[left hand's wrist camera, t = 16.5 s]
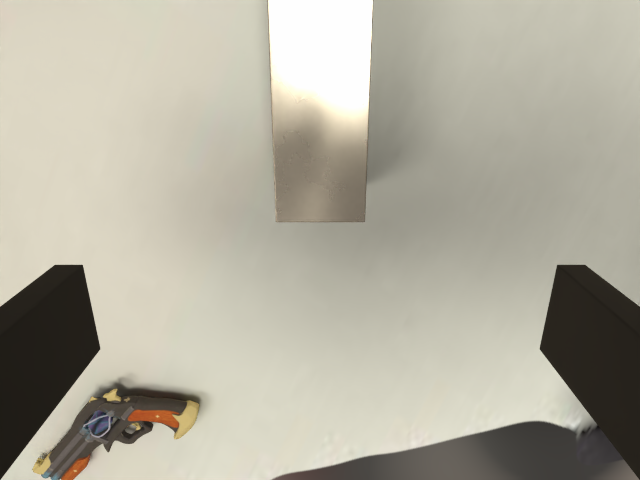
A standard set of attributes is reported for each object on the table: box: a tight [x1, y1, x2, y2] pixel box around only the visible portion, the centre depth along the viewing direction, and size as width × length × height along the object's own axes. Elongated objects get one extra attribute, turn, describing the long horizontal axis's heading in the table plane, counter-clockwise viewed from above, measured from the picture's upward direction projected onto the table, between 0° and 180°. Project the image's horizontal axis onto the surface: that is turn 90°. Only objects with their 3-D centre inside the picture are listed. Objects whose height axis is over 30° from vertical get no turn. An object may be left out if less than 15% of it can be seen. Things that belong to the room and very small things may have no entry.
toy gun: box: [32, 389, 199, 480], centre depth 48 cm, size 3×19×10 cm
